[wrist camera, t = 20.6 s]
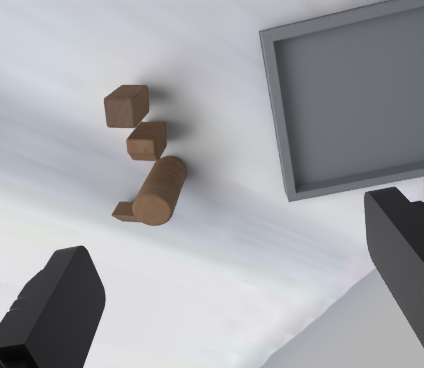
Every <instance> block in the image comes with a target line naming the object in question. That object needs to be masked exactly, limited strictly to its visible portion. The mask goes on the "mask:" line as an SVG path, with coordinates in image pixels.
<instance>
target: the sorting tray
mask: <svg viewBox="0 0 424 368" xmlns="http://www.w3.org/2000/svg"><path fill="white" fill-rule="evenodd" d="M259 34H260V40H261V47H262V53H263V59H264V65H265V71H266V77H267V83H268V89H269V96H270V102H271V108H272V114H273V120H274V126H275V132H276V139H277V145H278V151H279V157H280V163H281V169H282V175H283V182H284V188H285V192H286V195H287V198H288V201H289V202H292V201H297V200H302V199H307V198H312V197H318V196H323V195H328V194H333V193H339V192H344V191H349V190H354V189H359V188H365V187H370V186H375V185H380V184H386V183H391V182H396V181H401V180H406V179H412V178H417V177H422V176H424V0H388V1H384V2H379V3H375V4H371V5H367V6H363V7H359V8H354V9H350V10H346V11H342V12H338V13H334V14H329V15H325V16H321V17H317V18H313V19H309V20H304V21H300V22H296V23H292V24H288V25H284V26H279V27H275V28H271V29H267V30H263V31H259Z"/></svg>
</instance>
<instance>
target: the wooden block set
mask: <svg viewBox="0 0 424 368" xmlns="http://www.w3.org/2000/svg"><path fill="white" fill-rule="evenodd" d="M104 106H105V114H106V122H107V126H108V127H112V128H135V127H136V128H135V130H134V131H133V132H132V133H131V135H130V136H129V137H128V138H127V140H126V143H127V151H128V153H129V155H130V156H131V158H132V159H133V160H145V161H156V162H155V164H154V166H153V168H152V169H151V171H150V173H149V175H148V177H147V179H146V180H145V182H144V184H143V186H142V188H141V190H140V191H139V193H138V195H137V197H136V199H135V200H134V202H119V204H118V205H117V207H116V208H115V210H114V212H113V213H112V216H114V217H115V218H117V219H119V220H121V221H127V222H142V223H144V224H147V225H152V226H157V225H161V224H164V223H166V222H167V221H169V220H170V218H171V217H172V215H173V212H174V209H175V206H176V203H177V200H178V197H179V194H180V191H181V189H182V186H183V183H184V180H185V177H186V172H187V171H186V167H185V165H184V164H183V163H182V162H181V161H180V160H178V159H176V158H173V157H163V158H161V159H160V157H161V155H162V153H163V151H164V149H165V148H166V145H167V142H166V125H165V123H163V122H141V121H142V119H143V118H144V117H145V116H146V114H147V113H148V112H149V99H148V88H147V86H145V85H121V86H120V87H119V88H117V89H116V90H115V91H113V92H112V93H111V94H109V95H108V96H107V97H105V98H104ZM139 123H140V124H139ZM138 124H139V125H138ZM137 125H138V126H137Z"/></svg>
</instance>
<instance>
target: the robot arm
mask: <svg viewBox="0 0 424 368" xmlns="http://www.w3.org/2000/svg"><path fill="white" fill-rule="evenodd" d="M364 207H365V223H366V238H367V245H368V250H369V253H370V256H371V259H372V261H373V263H374V265H375V266H376V268H377V270H378V271H379V273H380V275H381V276H382V278H383V280H384V281H385V283H386V285H387V286H388V288H389V290H390V292H391V293H392V295H393V297H394V298H395V300H396V302H397V303H398V305H399V307H400V308H401V310H402V311H403V314H404V315H405V317H406V318H407V320H408V322H409V324H410V325H411V327H412V329H413V330H414V332H415V333H416V335H417V337H418V339H419V340H420V342H421V344H422V346H423V347H424V202H422V201H416V202H410V201H409V200H408V199H407V198H406V197H405V196H404V195H403V194H402V193H401V192H400V191H399V190H398V189H397V188H396V187H390V188H384V189H379V190H374V191H369V192H366V193H365V195H364ZM17 298H18V299H17V300H15V301H14V303H13V304H12V306H11V307H10V312H7V313H6V315H5V317H4V318H3V320H2V321H1V323H0V368H83V366H84V363H85V360H86V358H87V355H88V352H89V349H90V347H91V344H92V341H93V338H94V335H95V333H96V330H97V327H98V324H99V322H100V319H101V316H102V313H103V310H104V307H105V300H106V298H105V290H104V287H103V284H102V282H101V279H100V277H99V275H98V273H97V270H96V268H95V266H94V264H93V261H92V259H91V257H90V255H89V252H88V250H87V249H86V248H85V247H84V246H76V247H71V248H66V249H60V250H56V251H55V252H54V253H53V255H52V256H51V258H50V260H49V261H48V263H47V264H46V266H45V267H44V269H43V270H41V271H40V272H39V273H37V274H36V275H35V276H34V277H33V278H32V279H31V280H30V281H29V282H27V283H26V285H25V286H24V288H23V289H22V291H21V292H20V294H19V295H18V297H17Z"/></svg>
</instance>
